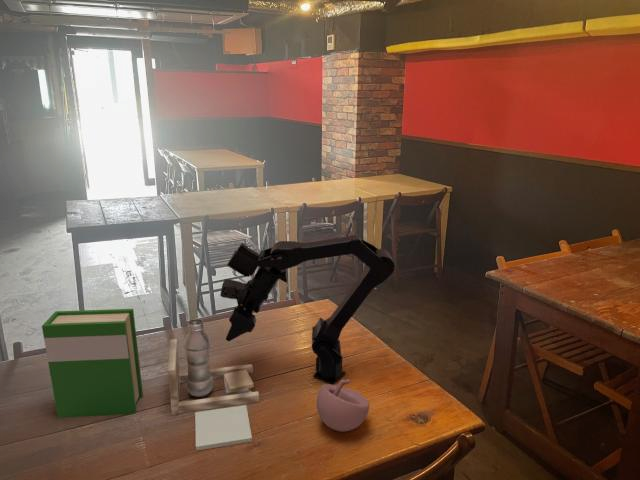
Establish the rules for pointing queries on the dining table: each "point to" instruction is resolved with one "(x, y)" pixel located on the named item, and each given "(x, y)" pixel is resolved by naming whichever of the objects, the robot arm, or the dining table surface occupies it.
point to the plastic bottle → (198, 359)
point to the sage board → (222, 427)
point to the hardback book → (93, 362)
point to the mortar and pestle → (341, 406)
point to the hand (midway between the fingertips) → (230, 331)
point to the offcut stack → (238, 382)
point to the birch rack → (207, 403)
